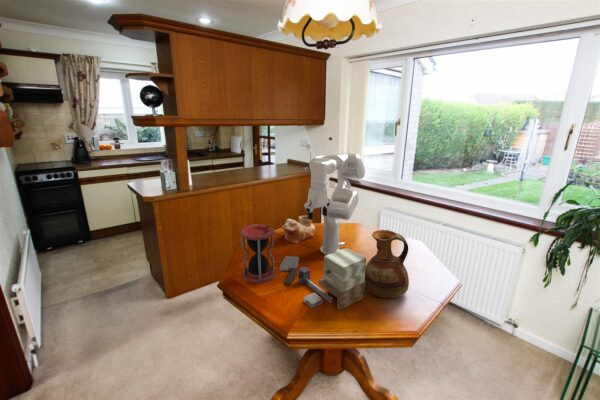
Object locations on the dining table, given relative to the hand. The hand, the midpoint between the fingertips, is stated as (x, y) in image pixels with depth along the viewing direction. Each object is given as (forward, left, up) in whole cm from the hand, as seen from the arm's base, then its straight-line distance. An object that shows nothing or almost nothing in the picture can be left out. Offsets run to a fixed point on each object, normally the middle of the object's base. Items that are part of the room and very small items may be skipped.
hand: (317, 217), depth 151 cm
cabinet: (+8, +28, -28) cm, 41 cm away
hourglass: (+30, -10, -28) cm, 43 cm away
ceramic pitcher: (-12, +37, -28) cm, 48 cm away
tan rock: (-14, -35, -29) cm, 47 cm away
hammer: (+15, +18, -28) cm, 37 cm away
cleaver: (+15, -5, -29) cm, 33 cm away
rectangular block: (+21, +24, -29) cm, 43 cm away
